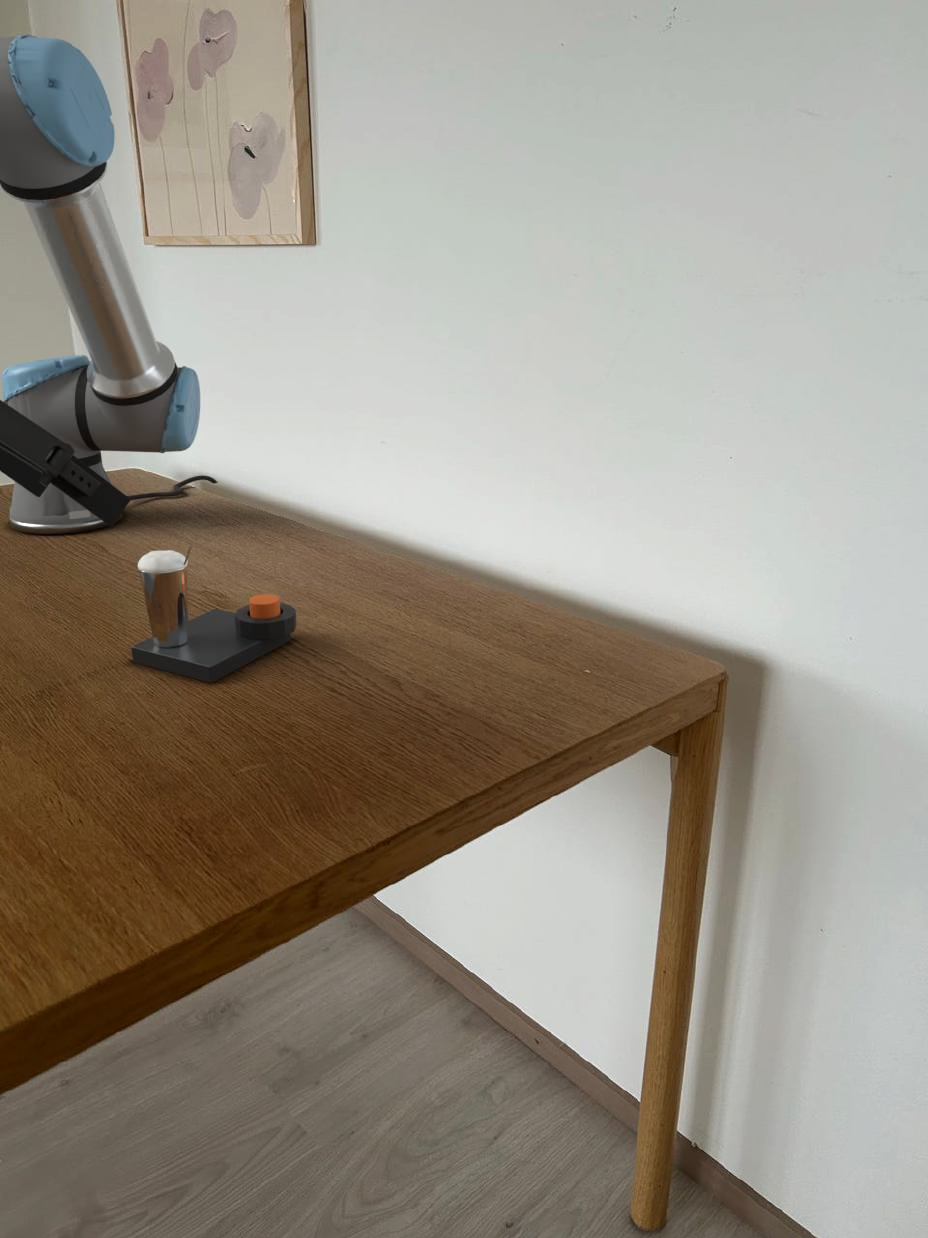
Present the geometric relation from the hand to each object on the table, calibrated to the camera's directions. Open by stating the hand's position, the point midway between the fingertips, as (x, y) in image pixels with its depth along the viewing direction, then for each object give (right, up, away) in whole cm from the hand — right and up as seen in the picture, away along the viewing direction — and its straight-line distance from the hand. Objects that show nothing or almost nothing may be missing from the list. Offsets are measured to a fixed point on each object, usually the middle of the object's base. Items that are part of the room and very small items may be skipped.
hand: (81, 497), depth 83 cm
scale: (+8, -14, +13) cm, 20 cm away
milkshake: (+5, -13, +11) cm, 17 cm away
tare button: (+13, -10, +13) cm, 21 cm away
